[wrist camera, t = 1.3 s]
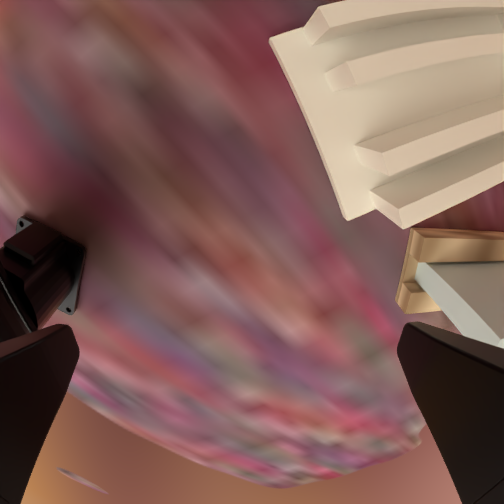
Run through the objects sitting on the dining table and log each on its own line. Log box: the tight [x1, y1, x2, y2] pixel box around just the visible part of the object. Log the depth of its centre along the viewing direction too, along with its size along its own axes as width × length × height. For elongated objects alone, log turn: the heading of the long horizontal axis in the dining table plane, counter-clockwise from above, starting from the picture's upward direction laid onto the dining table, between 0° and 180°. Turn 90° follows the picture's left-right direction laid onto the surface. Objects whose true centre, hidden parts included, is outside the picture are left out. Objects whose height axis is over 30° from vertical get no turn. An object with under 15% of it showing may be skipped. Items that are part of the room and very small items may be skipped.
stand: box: [395, 227, 504, 314], centre depth 21 cm, size 12×6×2 cm, turn 89°
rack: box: [269, 0, 504, 230], centre depth 14 cm, size 20×12×5 cm, turn 114°
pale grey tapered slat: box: [414, 261, 504, 349], centre depth 17 cm, size 10×2×10 cm, turn 89°
